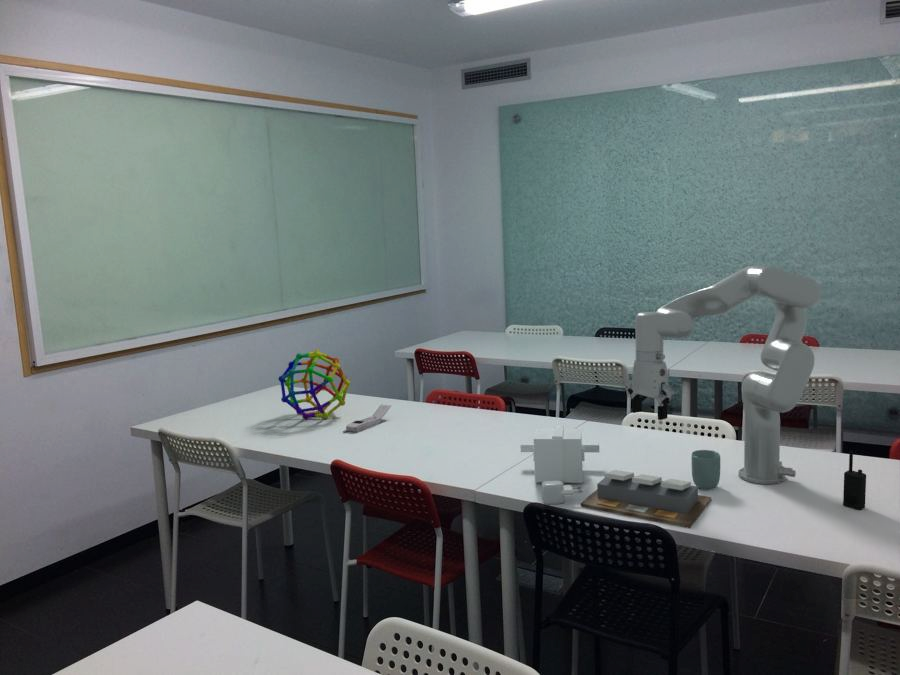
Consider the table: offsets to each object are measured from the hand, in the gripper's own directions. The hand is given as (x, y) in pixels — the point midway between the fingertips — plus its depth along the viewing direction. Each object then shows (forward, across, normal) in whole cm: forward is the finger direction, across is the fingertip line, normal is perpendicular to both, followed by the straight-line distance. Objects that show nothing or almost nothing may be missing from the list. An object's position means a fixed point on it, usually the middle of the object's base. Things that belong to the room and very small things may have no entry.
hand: (649, 415), depth 202 cm
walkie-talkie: (+22, -40, -33) cm, 56 cm away
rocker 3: (+16, -13, +3) cm, 21 cm away
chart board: (+23, -6, +8) cm, 25 cm away
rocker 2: (+17, -5, +7) cm, 19 cm away
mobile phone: (+24, +119, +36) cm, 127 cm away
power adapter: (+23, +10, +24) cm, 35 cm away
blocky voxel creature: (+23, +30, +9) cm, 39 cm away
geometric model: (+24, +146, +48) cm, 156 cm away
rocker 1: (+17, +2, +10) cm, 19 cm away
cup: (+23, -8, -14) cm, 28 cm away
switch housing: (+22, -5, +7) cm, 24 cm away
